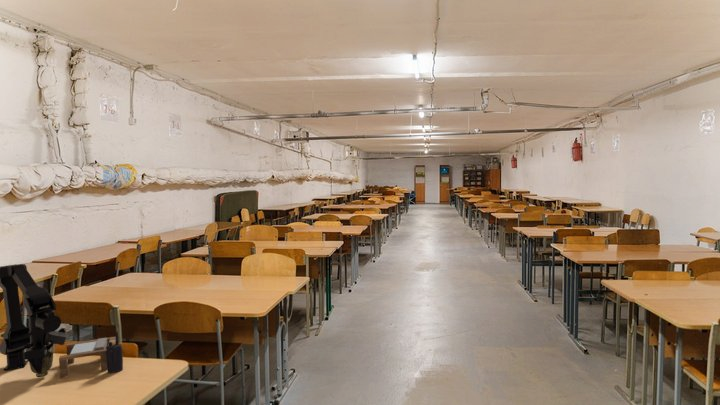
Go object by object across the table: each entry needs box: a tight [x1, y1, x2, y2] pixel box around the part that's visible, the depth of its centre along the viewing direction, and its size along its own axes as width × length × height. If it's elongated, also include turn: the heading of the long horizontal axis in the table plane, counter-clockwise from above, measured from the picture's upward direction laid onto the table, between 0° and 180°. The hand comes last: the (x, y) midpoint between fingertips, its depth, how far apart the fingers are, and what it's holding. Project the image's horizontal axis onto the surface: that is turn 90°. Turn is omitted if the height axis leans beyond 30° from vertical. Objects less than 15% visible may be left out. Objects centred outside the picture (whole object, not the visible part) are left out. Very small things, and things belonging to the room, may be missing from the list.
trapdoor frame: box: [58, 336, 116, 379], centre depth 172 cm, size 16×17×8 cm
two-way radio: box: [106, 330, 124, 374], centre depth 166 cm, size 6×4×15 cm
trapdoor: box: [70, 337, 108, 354], centre depth 172 cm, size 11×11×2 cm
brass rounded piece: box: [28, 350, 54, 378], centre depth 162 cm, size 8×7×8 cm
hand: (41, 369), depth 162 cm, fingers closed on brass rounded piece, 7 cm apart
